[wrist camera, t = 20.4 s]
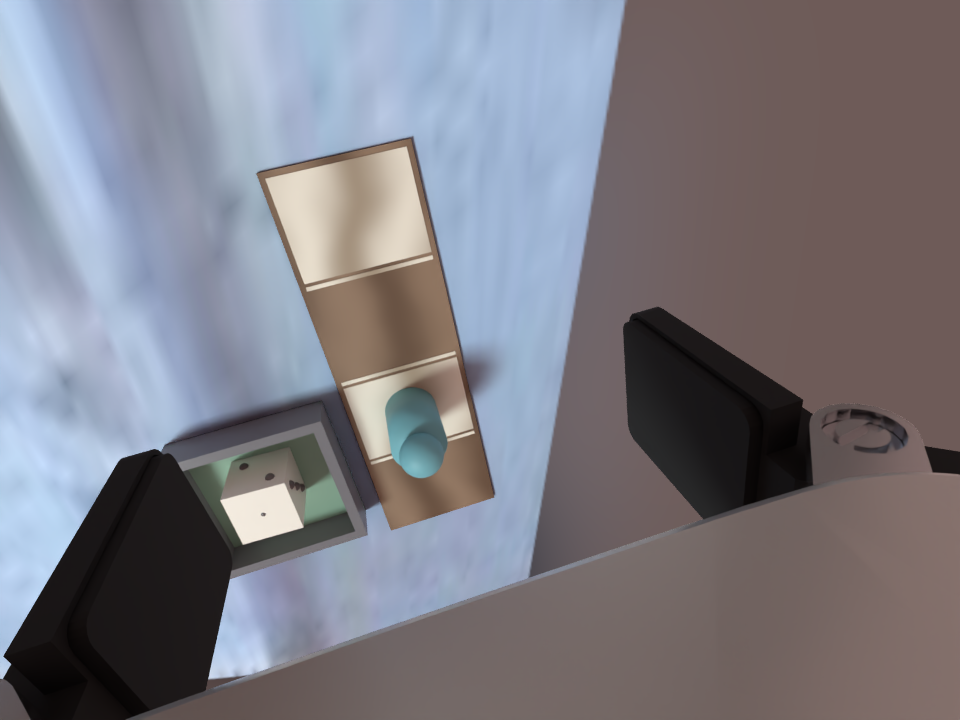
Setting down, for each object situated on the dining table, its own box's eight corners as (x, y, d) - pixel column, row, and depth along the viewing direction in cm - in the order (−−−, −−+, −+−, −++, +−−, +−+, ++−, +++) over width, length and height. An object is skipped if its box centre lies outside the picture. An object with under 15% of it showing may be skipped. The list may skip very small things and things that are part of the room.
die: (251, 504, 43) (242, 545, 39) (229, 459, 41) (218, 497, 37) (310, 488, 44) (307, 526, 40) (291, 442, 42) (287, 479, 38)
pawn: (386, 433, 43) (396, 497, 37) (383, 390, 42) (392, 448, 35) (436, 428, 44) (454, 488, 38) (435, 384, 42) (454, 440, 36)
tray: (230, 553, 45) (223, 581, 43) (164, 445, 39) (152, 470, 37) (365, 510, 47) (367, 535, 44) (321, 400, 41) (320, 421, 38)
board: (391, 528, 48) (391, 530, 48) (257, 173, 33) (256, 173, 33) (493, 495, 50) (494, 497, 49) (410, 138, 34) (411, 138, 34)
